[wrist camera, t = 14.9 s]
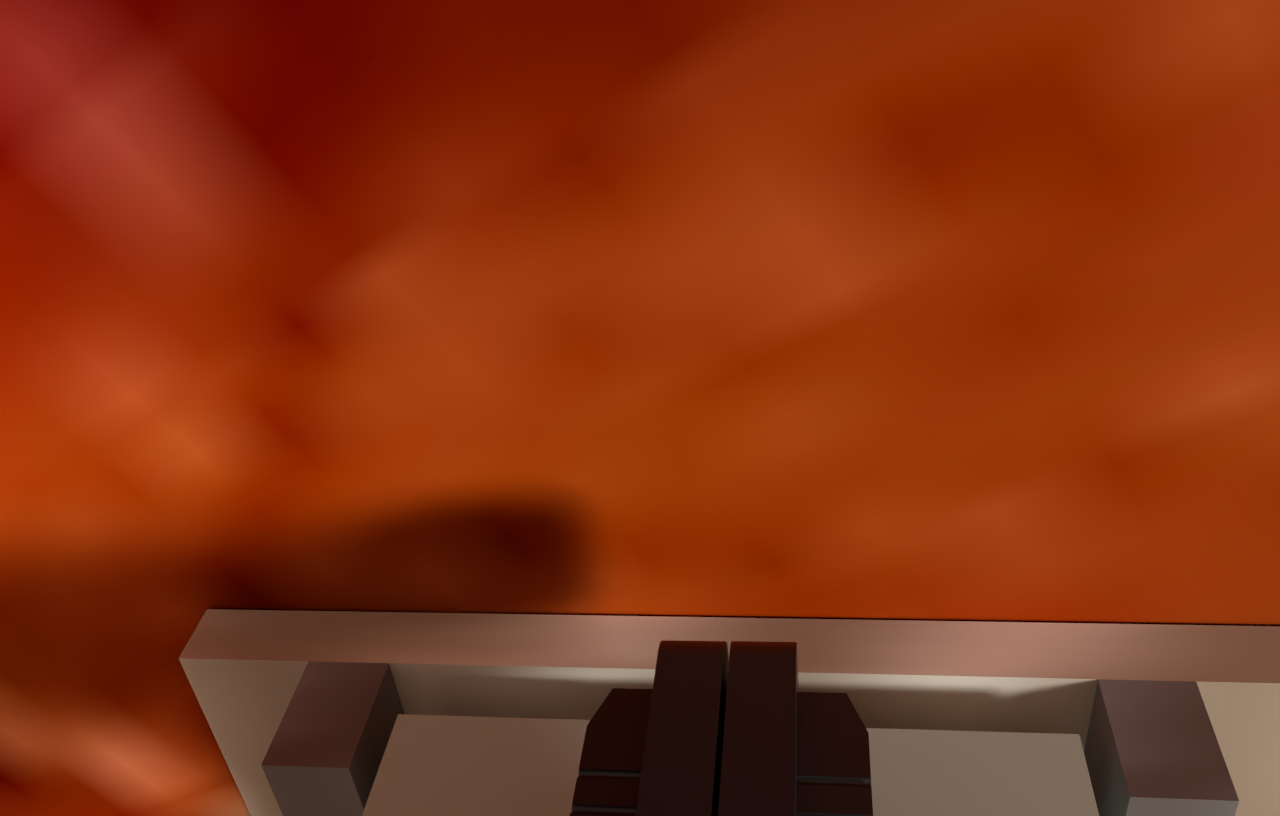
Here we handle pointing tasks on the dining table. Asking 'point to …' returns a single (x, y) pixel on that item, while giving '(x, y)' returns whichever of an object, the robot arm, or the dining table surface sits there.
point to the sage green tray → (551, 748)
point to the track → (827, 654)
